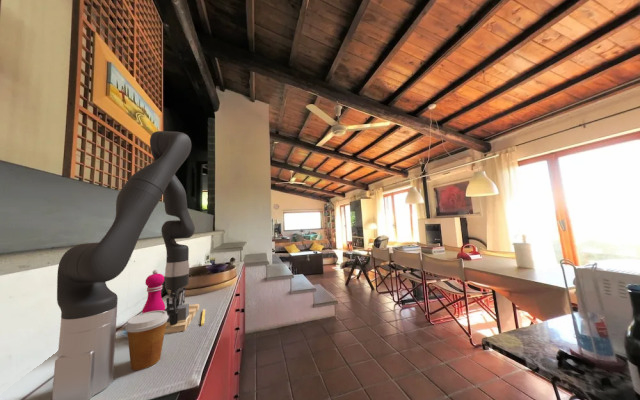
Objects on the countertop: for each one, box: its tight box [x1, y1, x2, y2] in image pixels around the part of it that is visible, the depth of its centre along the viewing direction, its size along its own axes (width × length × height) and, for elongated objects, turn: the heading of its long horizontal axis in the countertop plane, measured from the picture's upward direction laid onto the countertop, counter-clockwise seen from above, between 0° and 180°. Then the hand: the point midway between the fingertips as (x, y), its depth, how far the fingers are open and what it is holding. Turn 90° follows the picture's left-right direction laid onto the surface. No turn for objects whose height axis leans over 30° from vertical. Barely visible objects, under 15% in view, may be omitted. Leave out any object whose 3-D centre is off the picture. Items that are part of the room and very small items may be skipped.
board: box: [164, 303, 200, 335], centre depth 86 cm, size 22×8×2 cm, turn 17°
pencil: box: [200, 308, 206, 327], centre depth 88 cm, size 16×1×1 cm, turn 26°
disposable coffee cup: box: [124, 310, 169, 371], centre depth 60 cm, size 10×10×12 cm
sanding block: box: [164, 303, 190, 325], centre depth 81 cm, size 4×7×5 cm, turn 107°
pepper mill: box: [141, 269, 166, 314], centre depth 86 cm, size 7×7×20 cm
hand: (176, 320), depth 80 cm, fingers open, 4 cm apart
